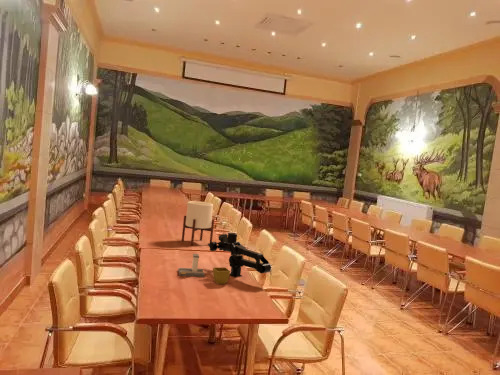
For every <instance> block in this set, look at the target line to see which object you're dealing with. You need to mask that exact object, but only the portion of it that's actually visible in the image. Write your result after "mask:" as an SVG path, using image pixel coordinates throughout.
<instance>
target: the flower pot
mask: <svg viewBox="0 0 500 375" xmlns="http://www.w3.org/2000/svg"><path fill="white" fill-rule="evenodd" d="M229 274H231V270H230V269H228V268H227V267H225V266H224V267H212V276H213V281H214V282H215V284H217V285H226V284H227V282H228V280H229V277H230V275H229Z"/></svg>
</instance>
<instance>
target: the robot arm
mask: <svg viewBox="0 0 500 375" xmlns="http://www.w3.org/2000/svg"><path fill="white" fill-rule="evenodd" d="M237 239H238V234H237V233H236V232H227V234H226V233H223V234H219V236H218V242H217V241H212V242H210V241H209V242H208V243H207V246H208V247H209V251H210V252H216V251H217V249H218V250H219V251H223V252H227V253H228V252H229V253H230V256H229V257H228V264H229V267H230V274H229V276H231V277H234V278H238V277H243V274H242V273H241V272H242V268H243V267H247V268H251V269H254V270H256V272H258V273H260V274H266V273H270V272H271V271H272V265H271V264H270V262H269V261H268V259H267V258H266V257H265V256H264V254H263V253H261V252H257V251H254V250H251V249H248V248H247V247H245V245H242V243H241V242H240V241H237ZM243 256H245V257H249V258H251V259H253V260H255V261H253V260H250V259H246V258H244V257H243ZM261 262H262V263H261Z"/></svg>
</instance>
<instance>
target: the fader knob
mask: <svg viewBox="0 0 500 375" xmlns="http://www.w3.org/2000/svg"><path fill="white" fill-rule="evenodd" d="M199 259H200V255H199V254H198V253H193V254H192V262H191V263H192V264H191V268H192V272H197V269H199Z"/></svg>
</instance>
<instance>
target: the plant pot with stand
mask: <svg viewBox="0 0 500 375" xmlns="http://www.w3.org/2000/svg"><path fill="white" fill-rule="evenodd" d="M213 209H214V204H213V203H211V202H207V201H206V202H205V201H198V200H197V201H195V200H193V201H191V200H189V201H187V206H186V215H183V222H182V223H183V224H182V234H181V235H182V236H181V242H184V241H185V234H186V233H185V230H186V229H191V238H190V246H192V247H193V246H194V240H195V232H196V231H199V230H200V236H199V241H203V234H204V233H203V232H204V231H205V232H210V237H209V243H210V242H213V237H214V236H213V234H214V225H215V219H213V211H214V210H213Z"/></svg>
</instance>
